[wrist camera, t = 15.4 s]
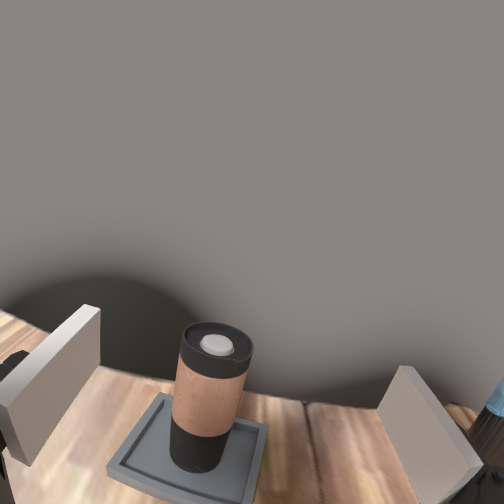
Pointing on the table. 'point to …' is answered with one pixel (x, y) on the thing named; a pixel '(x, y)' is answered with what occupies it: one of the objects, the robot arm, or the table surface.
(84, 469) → the table surface
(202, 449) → the travel mug
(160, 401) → the slate tray
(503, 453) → the robot arm
